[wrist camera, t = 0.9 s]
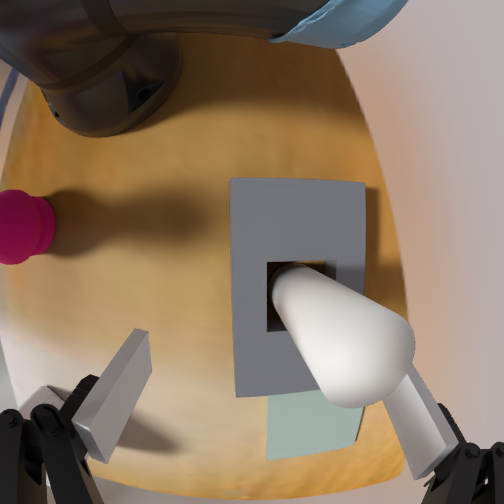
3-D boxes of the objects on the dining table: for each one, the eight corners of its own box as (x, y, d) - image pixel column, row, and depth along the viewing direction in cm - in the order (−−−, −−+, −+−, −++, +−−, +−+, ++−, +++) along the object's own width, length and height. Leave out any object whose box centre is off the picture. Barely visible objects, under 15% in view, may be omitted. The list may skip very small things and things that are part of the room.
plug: (268, 263, 26) (322, 316, 11) (319, 262, 27) (422, 305, 11) (268, 314, 27) (313, 416, 11) (317, 311, 27) (404, 396, 11)
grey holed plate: (229, 183, 25) (230, 178, 22) (351, 186, 27) (365, 182, 24) (234, 381, 27) (236, 397, 24) (342, 370, 29) (352, 383, 26)
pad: (267, 387, 28) (268, 390, 27) (367, 373, 29) (370, 375, 28) (266, 457, 29) (266, 460, 28) (352, 442, 30) (353, 445, 30)
